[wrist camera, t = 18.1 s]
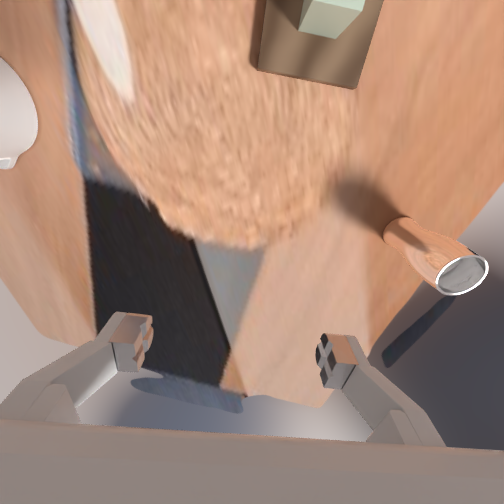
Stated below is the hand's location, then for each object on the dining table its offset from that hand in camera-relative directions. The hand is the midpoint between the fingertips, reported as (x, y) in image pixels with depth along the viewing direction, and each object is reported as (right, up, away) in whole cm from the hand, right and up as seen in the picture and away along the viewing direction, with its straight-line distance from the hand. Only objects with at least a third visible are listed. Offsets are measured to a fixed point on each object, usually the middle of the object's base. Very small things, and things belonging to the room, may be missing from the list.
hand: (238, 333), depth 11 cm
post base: (+9, +34, +18) cm, 40 cm away
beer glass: (+29, +8, +33) cm, 45 cm away
